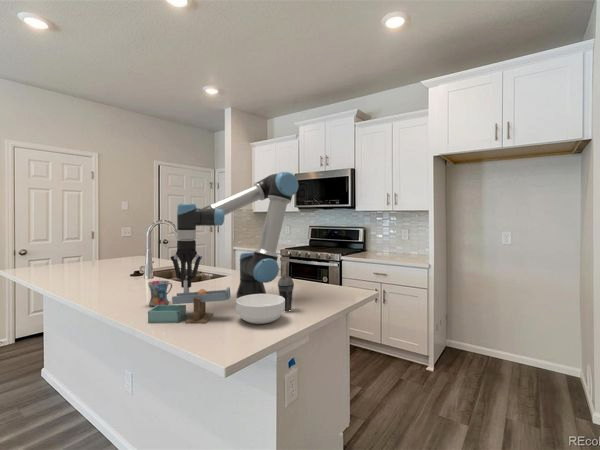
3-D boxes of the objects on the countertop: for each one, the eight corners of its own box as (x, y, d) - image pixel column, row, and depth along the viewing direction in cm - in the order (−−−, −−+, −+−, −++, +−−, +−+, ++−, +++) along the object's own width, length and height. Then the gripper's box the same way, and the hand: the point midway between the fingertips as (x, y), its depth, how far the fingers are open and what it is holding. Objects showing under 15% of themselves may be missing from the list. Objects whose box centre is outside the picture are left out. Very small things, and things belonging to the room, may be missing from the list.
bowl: (264, 332, 119) (264, 309, 119) (225, 322, 130) (225, 301, 129) (294, 318, 136) (294, 297, 136) (257, 310, 146) (257, 291, 146)
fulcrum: (212, 314, 140) (212, 292, 139) (206, 323, 129) (206, 299, 128) (193, 314, 139) (193, 292, 139) (185, 323, 128) (185, 299, 128)
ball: (199, 297, 135) (207, 296, 136) (196, 299, 132) (205, 298, 132) (198, 288, 135) (207, 288, 135) (196, 290, 132) (205, 290, 132)
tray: (185, 315, 138) (185, 304, 138) (178, 322, 129) (178, 311, 129) (157, 315, 138) (157, 305, 138) (147, 322, 129) (147, 311, 129)
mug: (156, 308, 148) (156, 285, 147) (143, 305, 152) (143, 283, 152) (178, 302, 158) (178, 280, 158) (165, 300, 163) (165, 278, 162)
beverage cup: (296, 309, 148) (296, 265, 148) (290, 313, 141) (290, 267, 141) (281, 307, 151) (281, 264, 150) (274, 311, 144) (275, 266, 143)
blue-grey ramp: (233, 293, 144) (232, 283, 144) (227, 301, 131) (227, 290, 131) (183, 296, 143) (182, 287, 143) (172, 305, 130) (171, 294, 130)
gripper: (204, 239, 143) (204, 293, 144) (174, 238, 143) (174, 292, 143) (199, 240, 136) (199, 297, 136) (167, 240, 135) (167, 297, 136)
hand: (186, 294), depth 140 cm, fingers closed
